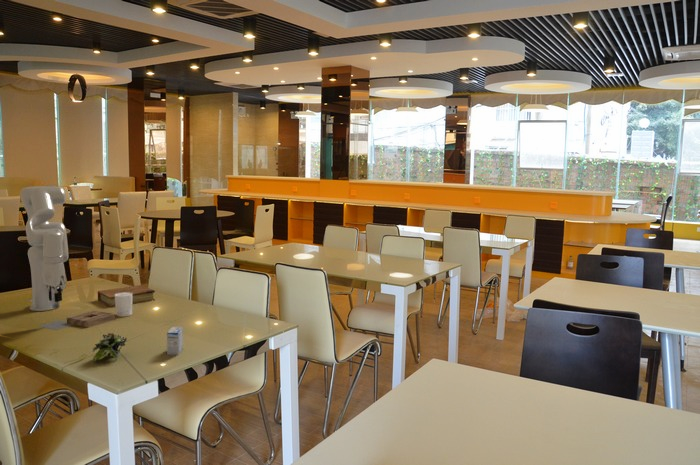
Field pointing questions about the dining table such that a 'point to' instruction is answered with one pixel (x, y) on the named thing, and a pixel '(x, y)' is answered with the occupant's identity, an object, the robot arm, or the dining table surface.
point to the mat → (56, 325)
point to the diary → (138, 292)
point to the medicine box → (174, 340)
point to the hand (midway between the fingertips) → (55, 300)
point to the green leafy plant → (108, 346)
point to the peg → (54, 304)
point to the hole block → (90, 318)
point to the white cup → (123, 304)
